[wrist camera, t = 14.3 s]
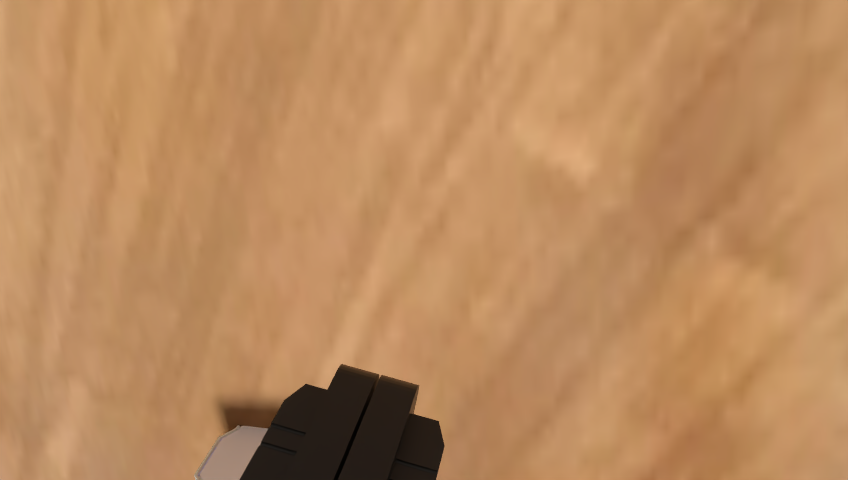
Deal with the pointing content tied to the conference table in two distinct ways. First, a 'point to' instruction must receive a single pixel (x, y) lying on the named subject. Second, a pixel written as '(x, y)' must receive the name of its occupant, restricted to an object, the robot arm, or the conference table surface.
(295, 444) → the robot arm
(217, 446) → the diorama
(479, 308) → the conference table surface
